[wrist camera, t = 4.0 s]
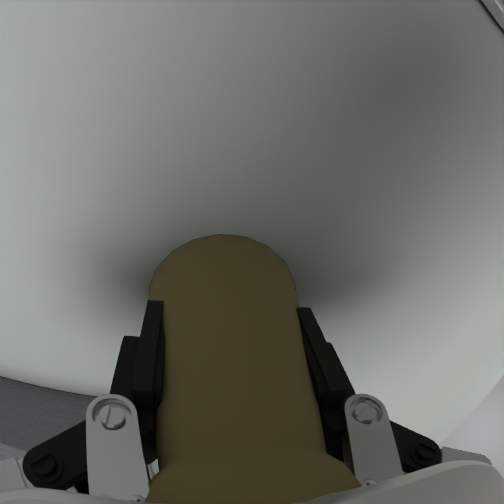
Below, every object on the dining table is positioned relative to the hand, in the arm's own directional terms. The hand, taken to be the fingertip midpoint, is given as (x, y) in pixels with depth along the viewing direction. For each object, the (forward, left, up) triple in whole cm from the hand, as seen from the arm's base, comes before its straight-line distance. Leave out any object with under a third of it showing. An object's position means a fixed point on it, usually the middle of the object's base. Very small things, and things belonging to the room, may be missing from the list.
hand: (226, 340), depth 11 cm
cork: (0, 0, -2) cm, 2 cm away
